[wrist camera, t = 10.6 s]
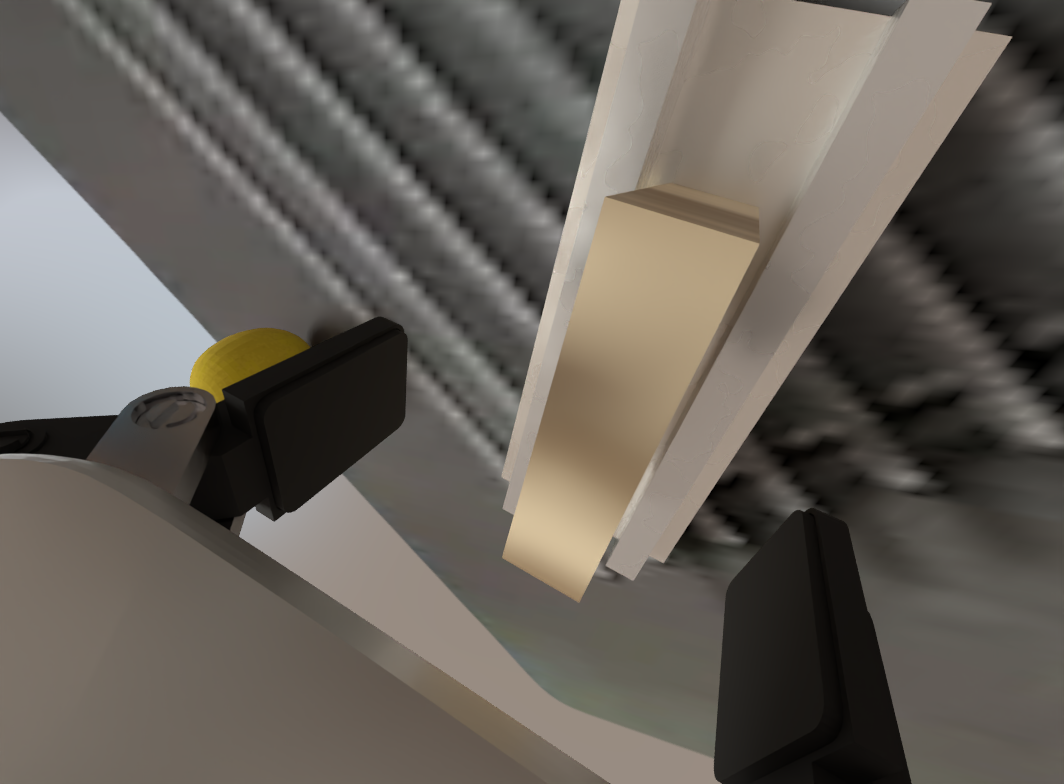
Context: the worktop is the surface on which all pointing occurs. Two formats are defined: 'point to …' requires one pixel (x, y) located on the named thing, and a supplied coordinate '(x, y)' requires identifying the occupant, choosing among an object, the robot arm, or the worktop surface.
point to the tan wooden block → (625, 368)
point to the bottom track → (754, 195)
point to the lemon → (243, 358)
